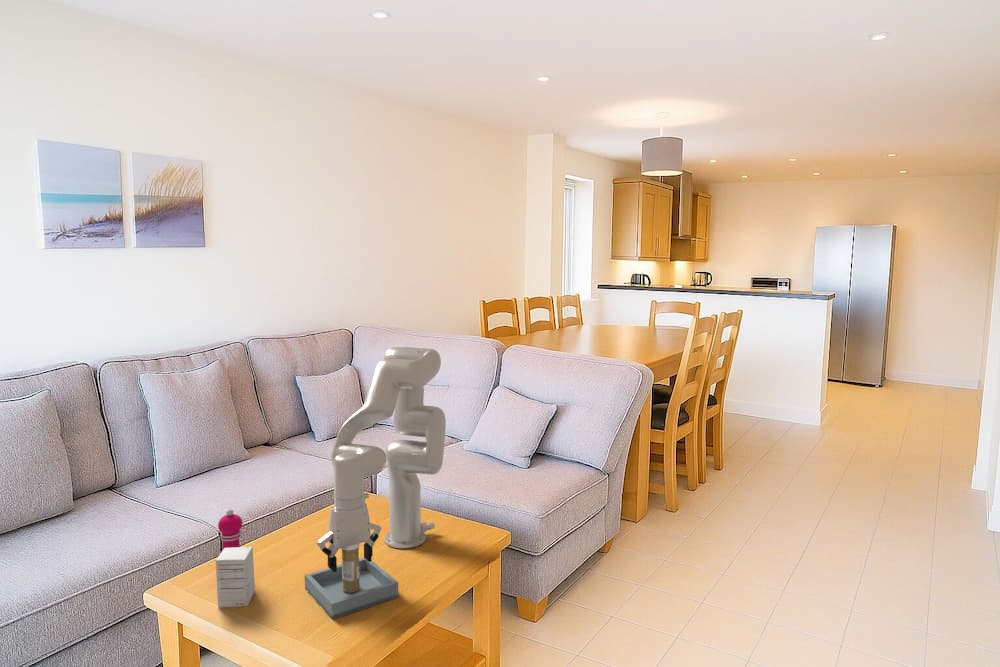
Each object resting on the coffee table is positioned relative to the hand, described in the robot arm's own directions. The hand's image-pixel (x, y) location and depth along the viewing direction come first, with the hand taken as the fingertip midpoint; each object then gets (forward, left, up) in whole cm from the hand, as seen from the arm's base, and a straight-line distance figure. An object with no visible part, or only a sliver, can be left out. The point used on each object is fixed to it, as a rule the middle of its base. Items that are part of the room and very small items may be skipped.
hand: (350, 564), depth 173 cm
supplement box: (+25, -14, -8) cm, 30 cm away
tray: (0, 0, -8) cm, 8 cm away
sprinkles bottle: (0, 0, -7) cm, 7 cm away
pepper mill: (+23, -25, -8) cm, 35 cm away
